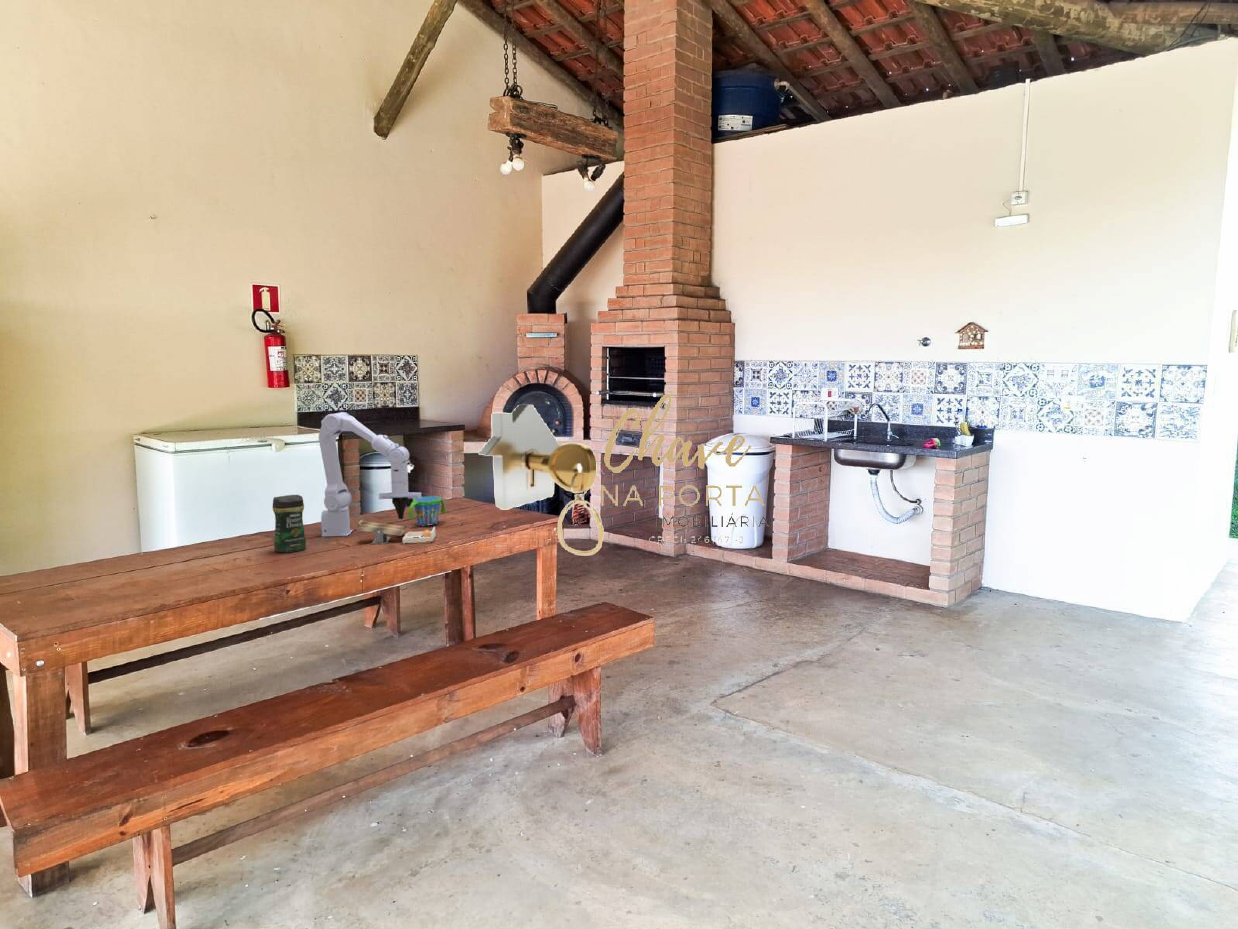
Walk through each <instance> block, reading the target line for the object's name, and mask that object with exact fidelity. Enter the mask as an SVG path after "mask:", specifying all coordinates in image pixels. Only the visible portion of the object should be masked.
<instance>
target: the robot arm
mask: <svg viewBox="0 0 1238 929" xmlns="http://www.w3.org/2000/svg"><path fill="white" fill-rule="evenodd" d="M320 423H321V427H320V430H319V433H318V442H319V447H320V452H321V458H322V463H323V468H324V474H325V478H326V479H325V480H326V484H327V486H326V488H325V489H324V499H323V504H324V507H325V510H322V511H321V516H320V523H321V537H348V535H349V534H350V535H351V534H352V533H353V532H352V531H354V530H353V529H351V524H350V506H349V505H351V503H352V499H353V498H352V494H351V493H350V492H349V490H348V486H347V485H346V484H345V482H344V480H343V475H342V469H341V464H340V459H339V454H338V453H339V452H338V448H337V447H338V446H337V443H336V440H337V438H338V437H339V436H340V435H341V433H342V432H353V433H354V434H355V435H357V436H359V437H361V438H362V439H364V440H365V441H368V442H369V443H370V444H371V447H372V449H374V450H375V451H376V452H377V453H379V454H381V455H382V456H384V457H385V458H386V459H387V460H388V462H389V463H390V474H391V475H390V478H391V479H390V480H391V492H379V494H378V499H379V500H391V502H392V504H393V507H394V508H395V511H396V514H397V518H398V520H403V519H404V517H405V516H404V515H405V510H406V507H407V504H408V502H409V500H410V499H414V498H418V499H421V497H422V492H414V491H413V492H410V491H409V473H408V472H409V470H408V469H409V468H408V461H409V459H410V452H409V450H408V449H407V448H406V447H405V446H401V445H400V446H399V444H398V443H397V442H396V443H395V442H393V441H392V440H390V439H389V437H388V435H385V434H384V435H383V434H376V433H374V431H371V429H369V428H368V427H366V426H365V425H364V424H362V423H361V421H358V420H357V419H356V418H355V417H354V416H353V415H350V414H349V413H347V412H344V411H339V412H337V413H329V414H327V415H326V416H324V418H323V419H322V420H321V421H320ZM326 509H327V510H326ZM351 532H352V533H351ZM350 535H349V536H350Z"/></svg>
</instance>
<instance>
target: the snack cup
mask: <svg viewBox="0 0 1238 929" xmlns="http://www.w3.org/2000/svg"><path fill="white" fill-rule="evenodd" d="M440 505H441V506H440ZM440 507H441V508H440ZM408 508H409V509H408V517H409V519H410V520H414V512H415V519H416V522H417V523H416V524H417V525H418V524H420V525H428V524H436V523H437V522H439V516H440V513H441V514H443V515H445V513H446V504H445V501H444V500H443V499H442V498H441V497H439V496H421V499H418V498H412V502H411V503H410V505H409V507H408ZM437 524H438V523H437Z"/></svg>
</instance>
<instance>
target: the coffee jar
mask: <svg viewBox="0 0 1238 929" xmlns="http://www.w3.org/2000/svg"><path fill="white" fill-rule="evenodd" d="M271 509H272V511H273V514H274V517H275V519H274V520H275V521H274V522H275V523H274V524H275V525H274V526H275V527H274V528H275V529H274V542H273V544H274V548H273V549H274V550H275V551H276V552H277V553H292V552H293V553H294V552H299V551H303V550H305V549H306V548H307V541H306V535H305V534H306V533H305V527H304V522H303V521H304V520H303V512H304V509H305V503H304V498H303V496H302V495H299V494H287V495H281V496H274V497H273V499H272V508H271Z"/></svg>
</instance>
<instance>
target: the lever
mask: <svg viewBox="0 0 1238 929" xmlns="http://www.w3.org/2000/svg"><path fill="white" fill-rule="evenodd" d="M407 527H408V525H407V524H406V525H405V524H398V525H394V524H388V523H379V522H373V521H372V522H371V521H365V520H362V519H361V520H360V521H358V522H357V528H356V530H357V531H362V532H370V533H375V530H376V529H383V533H384V534H387V535H394V536H399V537H400V536H403V534H404V533H405V532H406V529H407Z"/></svg>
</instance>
